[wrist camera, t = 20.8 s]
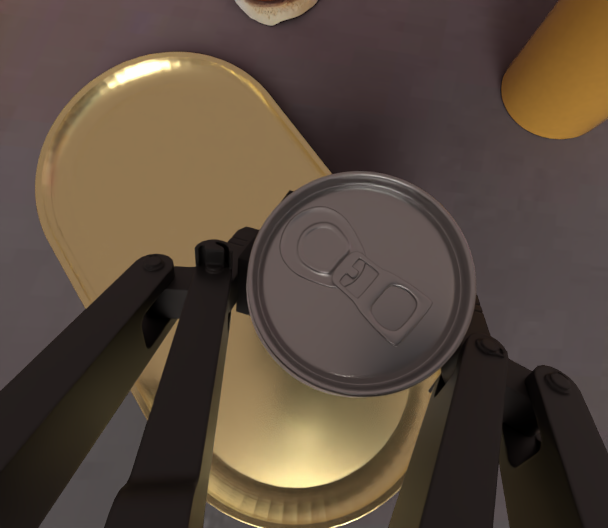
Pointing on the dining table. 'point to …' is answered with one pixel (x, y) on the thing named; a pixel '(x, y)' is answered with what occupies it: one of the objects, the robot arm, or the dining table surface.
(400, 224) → the can
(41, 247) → the dining table surface
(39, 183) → the serving platter
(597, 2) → the jar
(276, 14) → the dessert
